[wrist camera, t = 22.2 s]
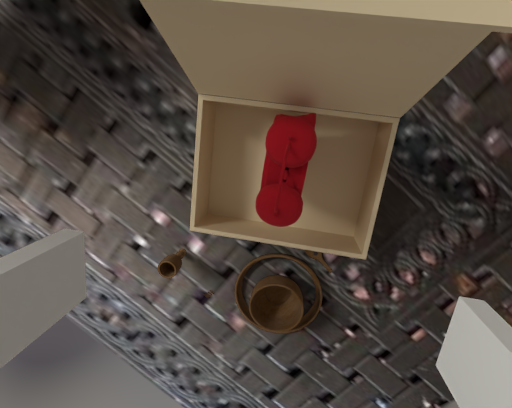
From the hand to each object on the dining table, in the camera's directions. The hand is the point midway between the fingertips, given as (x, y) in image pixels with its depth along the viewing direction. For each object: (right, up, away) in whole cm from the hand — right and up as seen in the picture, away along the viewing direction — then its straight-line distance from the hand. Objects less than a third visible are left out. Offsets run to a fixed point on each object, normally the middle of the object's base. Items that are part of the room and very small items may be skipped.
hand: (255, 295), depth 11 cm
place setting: (0, -6, +32) cm, 33 cm away
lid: (+3, +12, +12) cm, 17 cm away
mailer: (+4, +7, +27) cm, 29 cm away
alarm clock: (+6, +9, +26) cm, 28 cm away
